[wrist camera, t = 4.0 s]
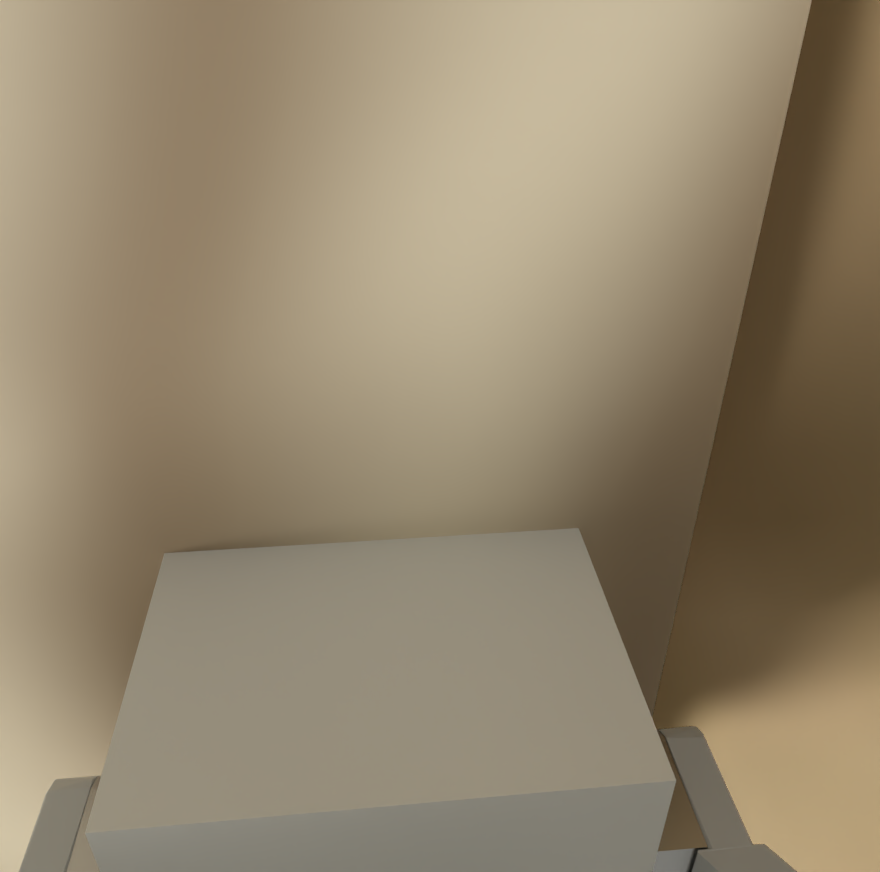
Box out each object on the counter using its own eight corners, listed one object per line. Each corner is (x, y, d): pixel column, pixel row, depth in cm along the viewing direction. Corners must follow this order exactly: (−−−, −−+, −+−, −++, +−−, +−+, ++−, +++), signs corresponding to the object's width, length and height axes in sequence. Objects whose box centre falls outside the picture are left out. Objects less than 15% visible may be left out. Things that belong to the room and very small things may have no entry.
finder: (164, 553, 10) (70, 882, 6) (578, 528, 10) (692, 823, 7) (231, 843, 13) (193, 1160, 10) (543, 815, 13) (609, 1109, 10)
